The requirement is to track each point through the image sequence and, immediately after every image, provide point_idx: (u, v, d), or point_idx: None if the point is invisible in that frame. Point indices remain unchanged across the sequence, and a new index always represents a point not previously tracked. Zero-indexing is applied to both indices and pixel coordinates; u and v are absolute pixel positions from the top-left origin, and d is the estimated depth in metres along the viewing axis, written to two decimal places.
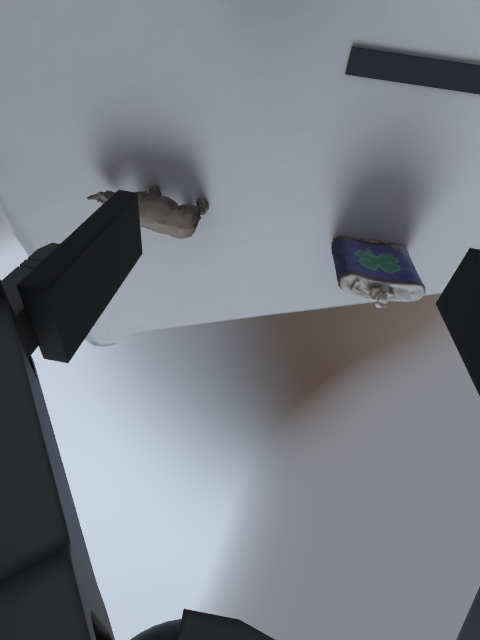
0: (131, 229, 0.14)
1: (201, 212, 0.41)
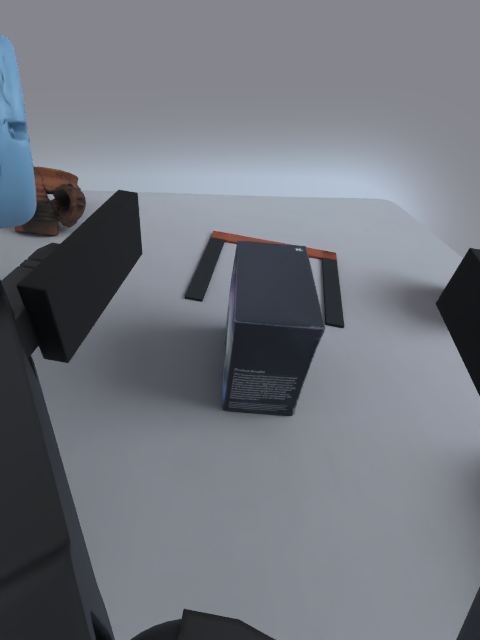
0: (131, 229, 0.14)
1: None
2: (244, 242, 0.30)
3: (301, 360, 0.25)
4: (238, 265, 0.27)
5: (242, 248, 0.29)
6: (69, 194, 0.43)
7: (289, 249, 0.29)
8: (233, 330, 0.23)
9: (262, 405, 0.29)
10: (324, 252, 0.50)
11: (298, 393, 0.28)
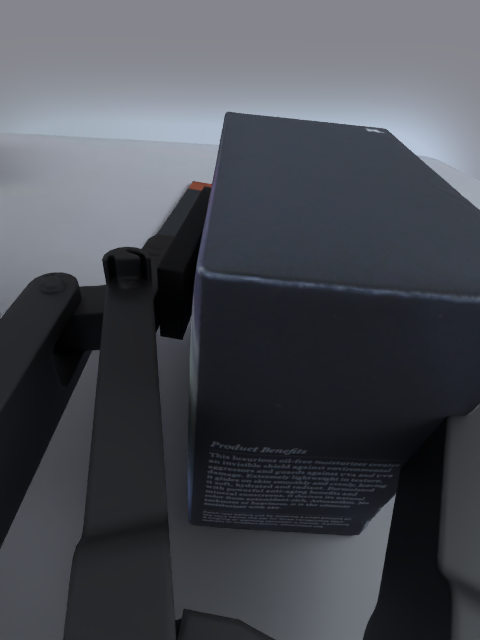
0: None
1: None
2: (242, 114, 0.12)
3: (433, 419, 0.07)
4: (225, 142, 0.10)
5: (236, 121, 0.12)
6: None
7: (352, 129, 0.12)
8: (197, 316, 0.06)
9: (289, 518, 0.11)
10: None
11: (390, 496, 0.10)
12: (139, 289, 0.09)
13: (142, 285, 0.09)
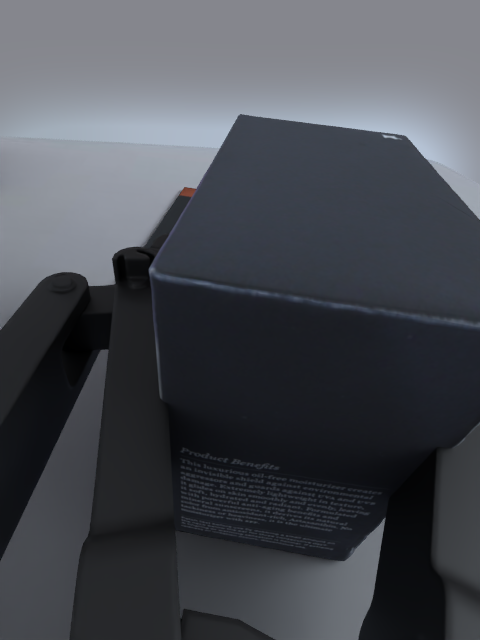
0: None
1: None
2: (254, 117, 0.12)
3: (414, 448, 0.07)
4: (225, 144, 0.10)
5: (246, 123, 0.11)
6: None
7: (367, 134, 0.12)
8: (154, 318, 0.06)
9: (269, 534, 0.11)
10: None
11: (375, 524, 0.09)
12: (148, 289, 0.09)
13: None
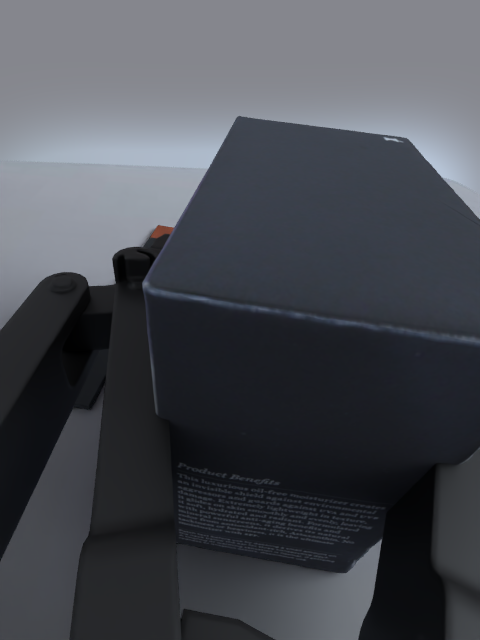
0: None
1: None
2: (253, 119, 0.12)
3: (420, 465, 0.07)
4: (224, 148, 0.09)
5: (244, 126, 0.11)
6: None
7: (368, 137, 0.11)
8: (149, 333, 0.05)
9: (269, 547, 0.10)
10: None
11: (377, 538, 0.09)
12: None
13: None
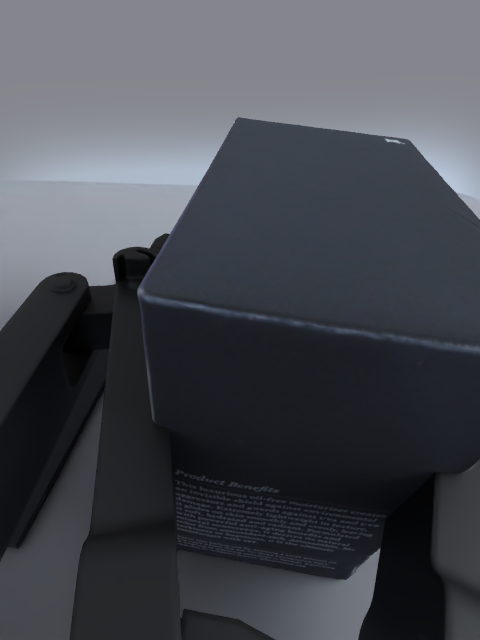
0: None
1: None
2: (253, 120, 0.12)
3: (421, 473, 0.07)
4: (223, 150, 0.09)
5: (244, 127, 0.11)
6: None
7: (369, 138, 0.11)
8: (144, 340, 0.05)
9: (268, 553, 0.10)
10: None
11: (378, 546, 0.09)
12: None
13: None
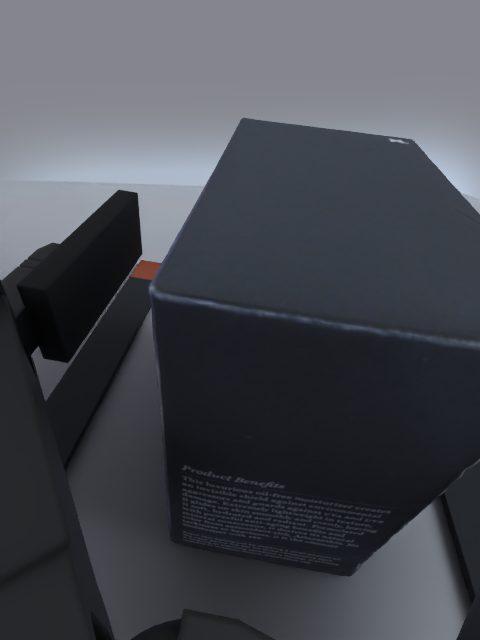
0: (131, 229, 0.14)
1: None
2: (257, 121, 0.12)
3: (426, 469, 0.07)
4: (228, 150, 0.09)
5: (249, 128, 0.11)
6: None
7: (373, 138, 0.11)
8: (154, 337, 0.05)
9: (273, 549, 0.10)
10: None
11: (382, 542, 0.09)
12: None
13: None
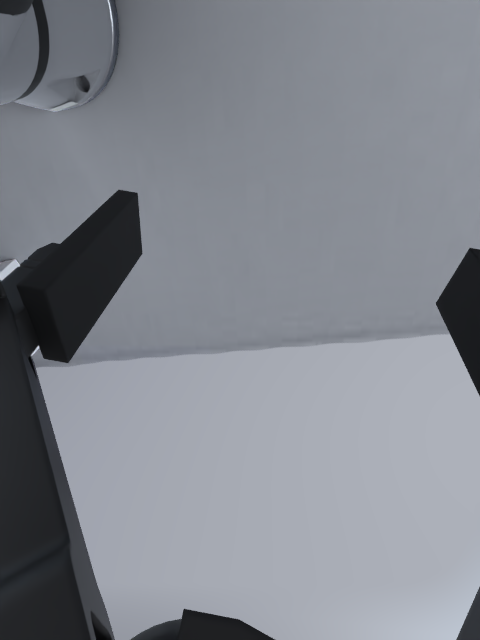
0: (131, 229, 0.14)
1: None
2: None
3: None
4: None
5: None
6: None
7: None
8: None
9: None
10: None
11: None
12: None
13: None
